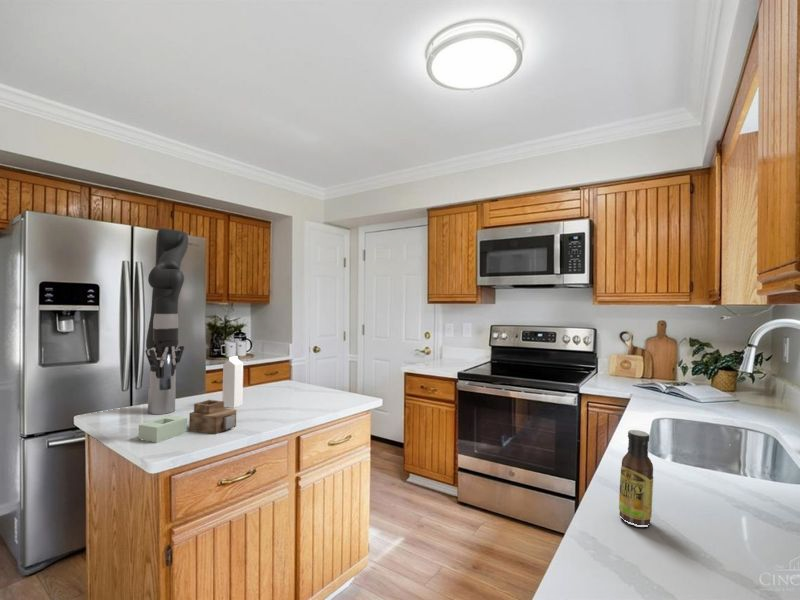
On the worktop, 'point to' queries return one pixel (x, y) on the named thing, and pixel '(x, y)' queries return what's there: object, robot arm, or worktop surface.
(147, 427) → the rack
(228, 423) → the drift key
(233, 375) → the milk
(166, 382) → the grey peg
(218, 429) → the socket block
